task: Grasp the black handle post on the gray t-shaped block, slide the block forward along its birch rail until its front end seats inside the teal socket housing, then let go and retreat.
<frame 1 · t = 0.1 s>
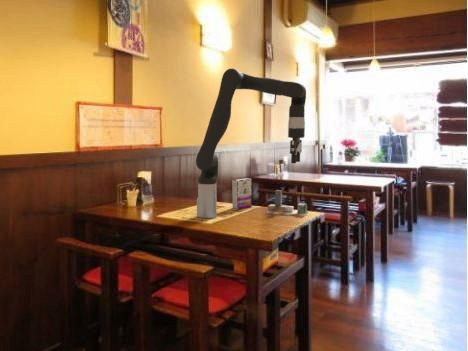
hand: (295, 162, 187), 29 cm above the table, fingers open, 8 cm apart
gray t-shaped block: (281, 200, 216), point 7 cm above the table, slide at 0.0 cm
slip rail: (287, 213, 215), on the table
candy bar box: (241, 207, 231), on the table
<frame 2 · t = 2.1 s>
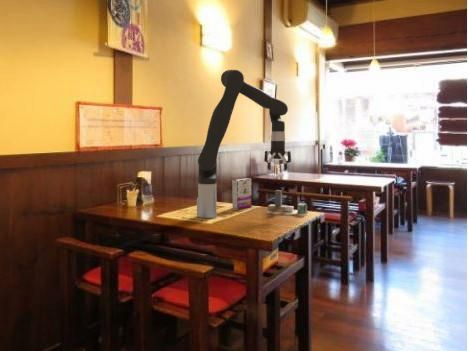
hand: (277, 170, 217), 23 cm above the table, fingers open, 8 cm apart
nothing on the table moved.
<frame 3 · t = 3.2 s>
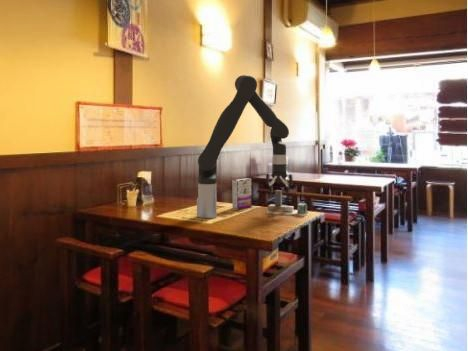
hand: (279, 193, 216), 11 cm above the table, fingers open, 8 cm apart
nothing on the table moved.
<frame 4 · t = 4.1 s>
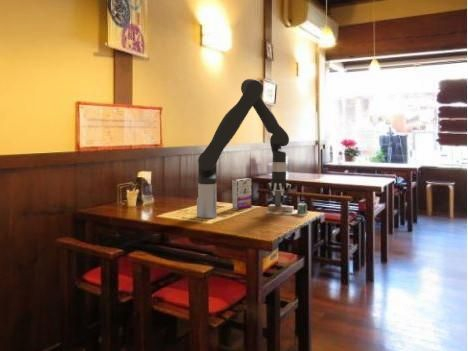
hand: (278, 202, 216), 6 cm above the table, fingers closed on gray t-shaped block, 3 cm apart
gray t-shaped block: (281, 200, 216), point 7 cm above the table, slide at 0.0 cm, touching gripper
everything else where it was.
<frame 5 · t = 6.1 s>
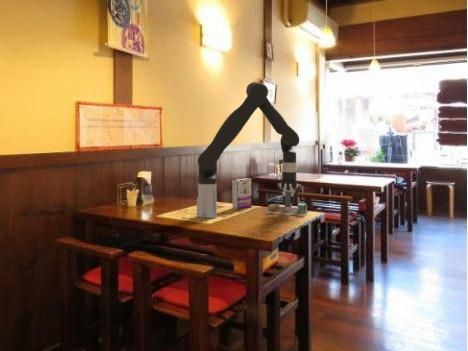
hand: (288, 202, 215), 6 cm above the table, fingers closed on gray t-shaped block, 3 cm apart
gray t-shaped block: (291, 201, 214), point 7 cm above the table, slide at 5.5 cm, touching gripper
everything else where it was.
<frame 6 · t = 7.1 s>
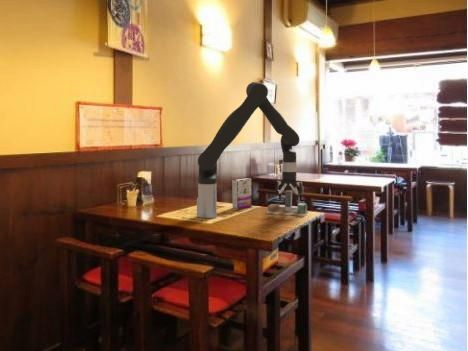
hand: (288, 200, 214), 7 cm above the table, fingers open, 8 cm apart
gray t-shaped block: (291, 201, 214), point 7 cm above the table, slide at 5.5 cm
everything else where it was.
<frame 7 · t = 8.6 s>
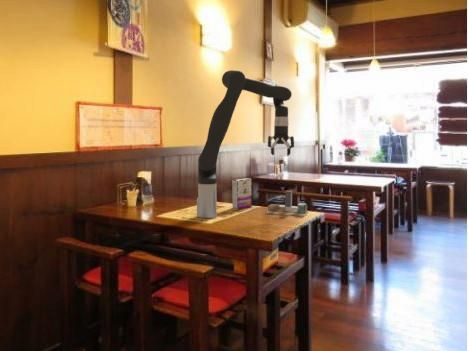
hand: (280, 155, 220), 31 cm above the table, fingers open, 8 cm apart
nothing on the table moved.
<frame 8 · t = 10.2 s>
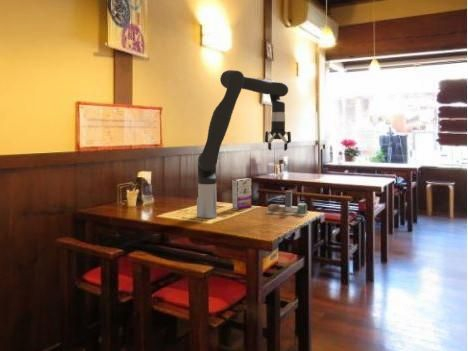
hand: (277, 150, 222), 33 cm above the table, fingers open, 8 cm apart
nothing on the table moved.
at the end: gray t-shaped block slide at 5.5 cm; the gripper is holding nothing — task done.
